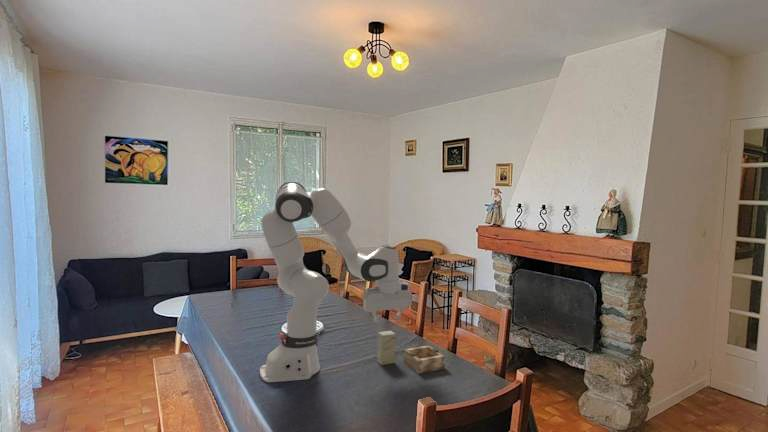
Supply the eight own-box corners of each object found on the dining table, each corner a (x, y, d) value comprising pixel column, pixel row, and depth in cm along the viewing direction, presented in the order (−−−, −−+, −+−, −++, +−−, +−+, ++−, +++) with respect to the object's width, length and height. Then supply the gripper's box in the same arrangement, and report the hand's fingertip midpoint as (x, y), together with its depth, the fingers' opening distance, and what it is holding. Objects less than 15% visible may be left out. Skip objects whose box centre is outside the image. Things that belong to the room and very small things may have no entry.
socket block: (417, 373, 157) (418, 359, 156) (403, 361, 167) (403, 348, 167) (444, 368, 161) (445, 354, 161) (429, 356, 172) (429, 344, 172)
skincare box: (381, 365, 163) (381, 335, 162) (376, 361, 167) (377, 332, 166) (395, 362, 166) (396, 333, 165) (390, 358, 170) (391, 329, 169)
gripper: (366, 290, 157) (366, 325, 158) (413, 285, 165) (413, 318, 167) (360, 286, 163) (360, 320, 164) (406, 281, 171) (406, 314, 172)
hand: (387, 319), depth 165 cm, fingers open, 8 cm apart
